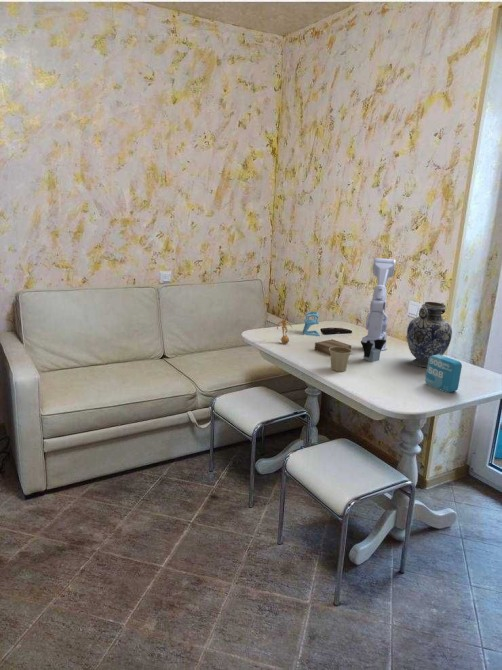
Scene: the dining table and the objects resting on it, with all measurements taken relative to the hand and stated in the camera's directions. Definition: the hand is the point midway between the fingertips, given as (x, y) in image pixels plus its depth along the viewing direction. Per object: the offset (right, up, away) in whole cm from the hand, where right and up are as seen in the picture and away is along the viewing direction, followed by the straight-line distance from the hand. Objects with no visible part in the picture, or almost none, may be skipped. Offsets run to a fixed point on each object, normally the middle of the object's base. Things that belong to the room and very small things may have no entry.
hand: (371, 355), depth 218 cm
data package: (+19, -11, -30) cm, 37 cm away
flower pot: (-18, -5, -15) cm, 24 cm away
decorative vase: (+23, -4, -2) cm, 24 cm away
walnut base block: (-16, +1, +10) cm, 19 cm away
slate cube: (0, -2, +1) cm, 2 cm away
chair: (-23, +10, +40) cm, 47 cm away
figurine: (-39, +5, +20) cm, 44 cm away
